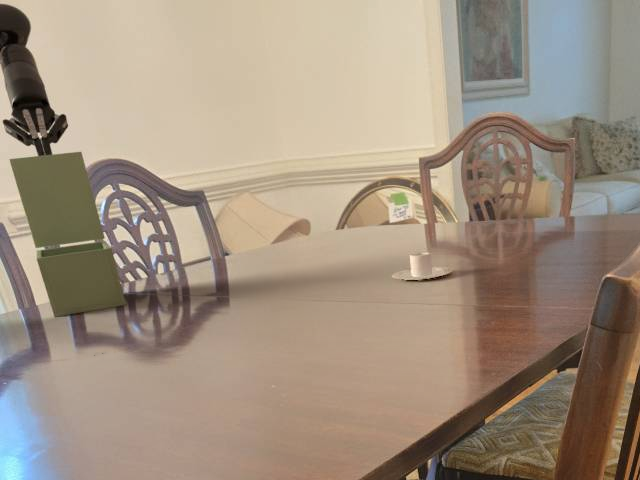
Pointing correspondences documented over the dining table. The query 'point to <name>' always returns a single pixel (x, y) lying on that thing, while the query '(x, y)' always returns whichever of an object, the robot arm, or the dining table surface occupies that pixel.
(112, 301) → the chest
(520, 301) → the dining table surface
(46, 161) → the lid
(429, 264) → the candle holder
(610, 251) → the dining table surface
